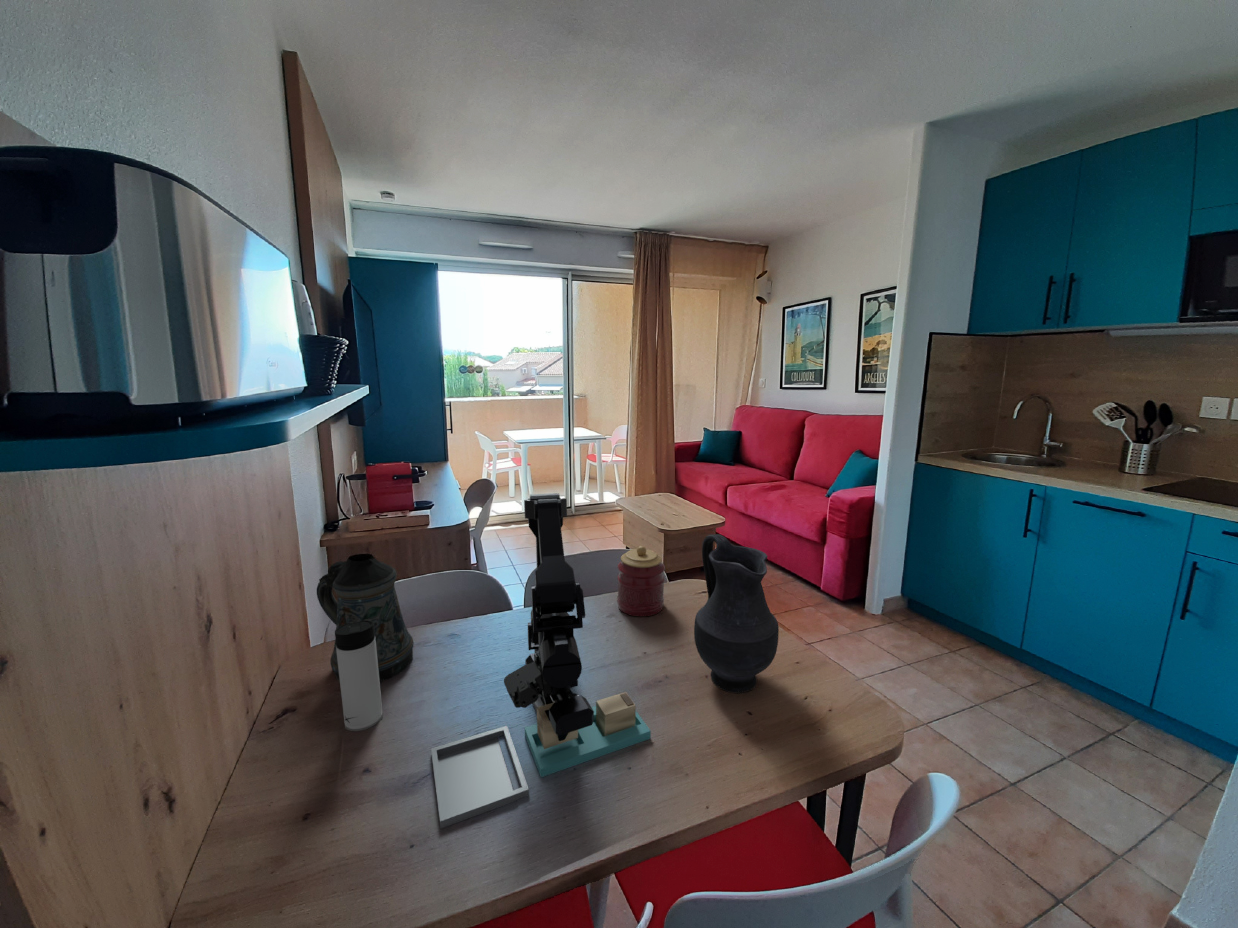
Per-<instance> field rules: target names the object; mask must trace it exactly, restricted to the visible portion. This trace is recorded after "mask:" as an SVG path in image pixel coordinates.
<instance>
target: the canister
mask: <svg viewBox="0 0 1238 928" xmlns="http://www.w3.org/2000/svg"><path fill="white" fill-rule="evenodd" d="M617 569H618V571H619V573H618V575H617V577H616V578H617V598H616V599H617V600H616V601H617V605H618V609H619V610H620V611H621V612H623V613H624V614H627V615H629V616H633V617H641V618H642V617H643V618H644V617H650V616H651V617H652V616H654V615H657V614H659V613H660V612H661V611H662V609H663V607H664V605H665V598H664V583H665V576H664V572H665V570H666V566H665V564H664V563H663V558H662V556H661V555H660V554H658V553H656V551H653V550H652V549H647V548H646V547H645V546H644V545H639V546H638V547H637V548H635V549H634V548H633V549H631V550H628V551H627V552H625V553H623V554H622V555H621V556H620V561H619V563H618V564H617Z"/></svg>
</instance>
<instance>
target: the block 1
mask: <svg viewBox="0 0 1238 928" xmlns="http://www.w3.org/2000/svg"><path fill="white" fill-rule="evenodd" d="M554 703H555V702H554ZM554 703H550V704H547V705H545V704H543V706H540V707H537V713H536V724H537V733H538V736H539V738H540V740H541V743H542V745H543V748H544V749H546V748H549V747H552V746H555V745H558V744H561V743H564V742H567V741H570V740H573V739H576V738H578V730H575V731H572V732H569V733H568V735H567V737H566V739H565V740H562V741H559V740H558V736H557V734H556V733H555V731H554V729H553V727H552V724H551V722H550V721H549V719H548V717H547V715H546V713H545V710H549V709H550V708H551V706H552V705H553V704H554Z"/></svg>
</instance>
